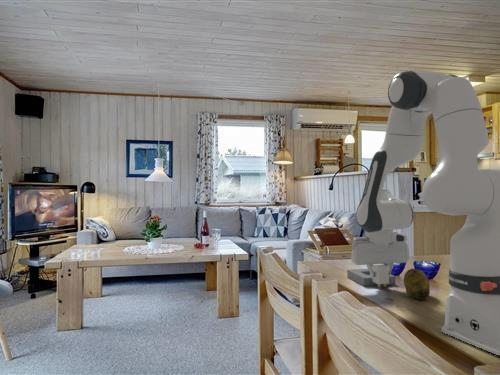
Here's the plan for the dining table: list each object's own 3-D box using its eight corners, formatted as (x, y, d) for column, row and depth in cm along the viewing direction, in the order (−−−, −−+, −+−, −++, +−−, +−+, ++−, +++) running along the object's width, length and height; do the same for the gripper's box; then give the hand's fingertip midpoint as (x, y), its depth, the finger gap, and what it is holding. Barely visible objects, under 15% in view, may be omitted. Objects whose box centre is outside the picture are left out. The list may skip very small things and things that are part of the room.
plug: (389, 287, 129) (388, 266, 129) (378, 287, 128) (377, 266, 128) (383, 284, 133) (382, 263, 133) (372, 284, 132) (372, 264, 132)
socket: (395, 284, 134) (395, 275, 134) (364, 286, 132) (363, 277, 132) (376, 275, 148) (375, 267, 148) (347, 277, 146) (347, 268, 146)
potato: (399, 299, 116) (399, 273, 116) (405, 289, 127) (405, 266, 128) (429, 303, 112) (428, 276, 112) (432, 292, 123) (432, 268, 123)
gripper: (355, 238, 126) (356, 280, 126) (411, 236, 129) (412, 276, 129) (347, 236, 132) (348, 276, 132) (400, 234, 135) (401, 272, 135)
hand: (380, 276), depth 130 cm, fingers closed on plug, 4 cm apart
